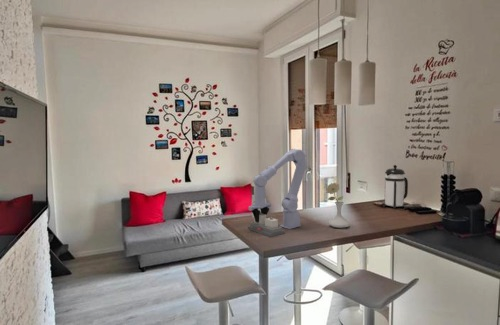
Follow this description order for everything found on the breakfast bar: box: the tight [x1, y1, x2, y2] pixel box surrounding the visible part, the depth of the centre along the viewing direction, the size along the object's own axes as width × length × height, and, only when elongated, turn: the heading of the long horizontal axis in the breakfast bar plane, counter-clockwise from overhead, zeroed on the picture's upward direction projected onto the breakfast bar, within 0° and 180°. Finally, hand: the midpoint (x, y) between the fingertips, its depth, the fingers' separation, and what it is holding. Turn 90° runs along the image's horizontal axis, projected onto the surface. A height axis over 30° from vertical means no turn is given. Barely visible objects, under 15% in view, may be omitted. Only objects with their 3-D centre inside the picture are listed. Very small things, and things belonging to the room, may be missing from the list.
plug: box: [253, 212, 267, 225], centre depth 179 cm, size 4×6×7 cm, turn 38°
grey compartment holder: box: [247, 216, 286, 238], centre depth 175 cm, size 10×19×8 cm, turn 38°
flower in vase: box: [325, 182, 350, 229], centre depth 182 cm, size 13×11×25 cm
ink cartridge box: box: [251, 194, 268, 219], centre depth 204 cm, size 9×5×15 cm, turn 68°
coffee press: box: [382, 164, 409, 210], centre depth 229 cm, size 17×16×30 cm
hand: (260, 221), depth 179 cm, fingers closed on plug, 4 cm apart
